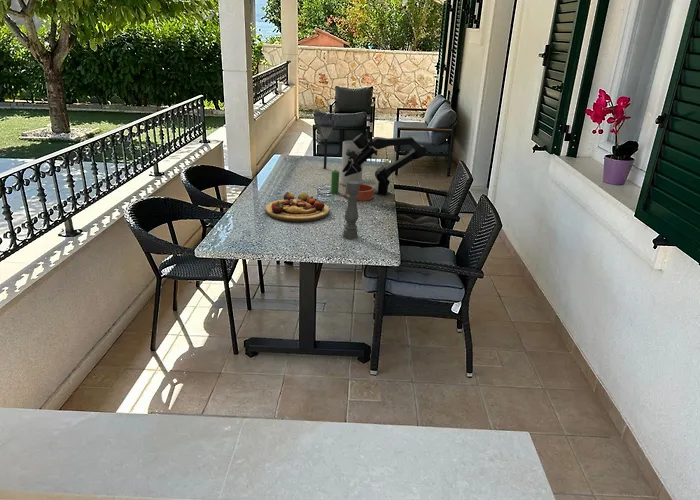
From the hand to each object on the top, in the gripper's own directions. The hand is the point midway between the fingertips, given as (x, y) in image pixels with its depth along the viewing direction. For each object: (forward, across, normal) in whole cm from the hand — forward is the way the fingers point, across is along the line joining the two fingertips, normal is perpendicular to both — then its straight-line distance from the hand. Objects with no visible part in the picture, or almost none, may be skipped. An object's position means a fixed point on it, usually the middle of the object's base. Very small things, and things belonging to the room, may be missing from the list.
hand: (343, 173), depth 284 cm
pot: (+2, +8, +14) cm, 16 cm away
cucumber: (+11, 0, +5) cm, 12 cm away
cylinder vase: (+3, -19, +13) cm, 23 cm away
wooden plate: (+27, +35, -11) cm, 45 cm away
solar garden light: (+12, -55, +4) cm, 57 cm away
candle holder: (+11, +68, +5) cm, 69 cm away
